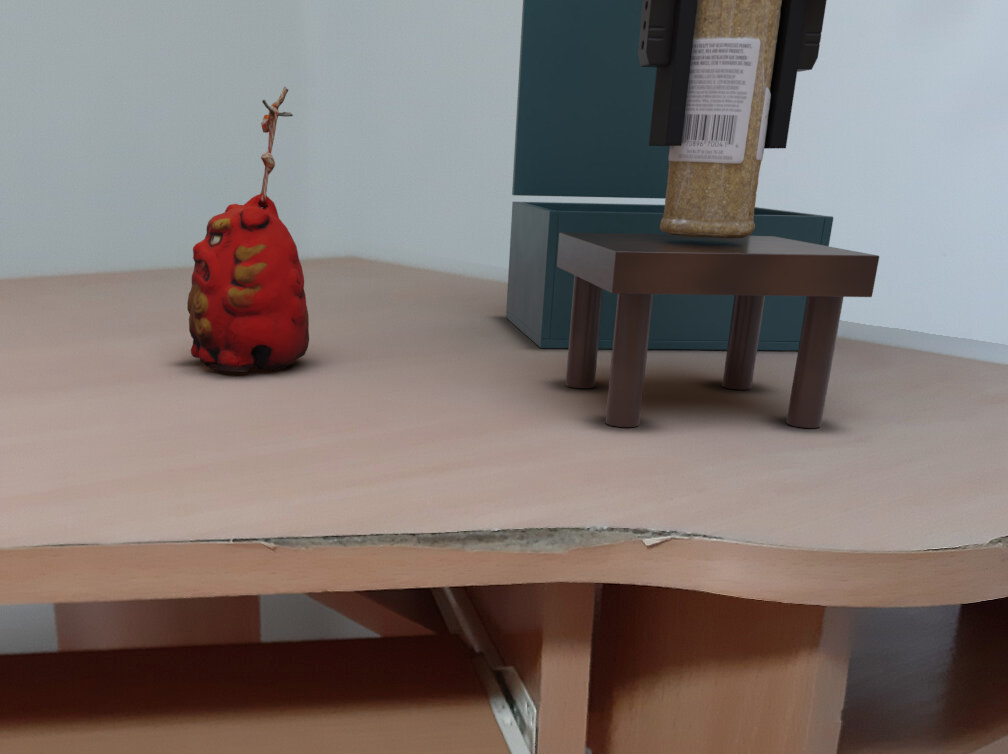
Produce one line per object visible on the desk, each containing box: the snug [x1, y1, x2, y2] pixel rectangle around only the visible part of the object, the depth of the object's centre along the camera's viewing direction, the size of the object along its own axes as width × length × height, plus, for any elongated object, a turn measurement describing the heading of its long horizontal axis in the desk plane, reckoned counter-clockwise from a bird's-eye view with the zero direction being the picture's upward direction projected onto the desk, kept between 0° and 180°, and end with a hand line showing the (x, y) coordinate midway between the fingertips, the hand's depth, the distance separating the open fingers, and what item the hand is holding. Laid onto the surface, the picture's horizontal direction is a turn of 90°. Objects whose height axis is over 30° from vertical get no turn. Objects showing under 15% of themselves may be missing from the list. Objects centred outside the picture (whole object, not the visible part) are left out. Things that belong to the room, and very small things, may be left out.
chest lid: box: [511, 0, 670, 200], centre depth 78 cm, size 15×19×1 cm
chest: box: [505, 201, 834, 352], centre depth 76 cm, size 14×19×9 cm
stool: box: [557, 232, 880, 429], centre depth 54 cm, size 12×12×8 cm
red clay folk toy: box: [186, 86, 310, 373], centre depth 60 cm, size 8×7×15 cm
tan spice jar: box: [660, 0, 782, 238], centre depth 50 cm, size 5×5×13 cm
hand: (716, 145), depth 51 cm, fingers closed on tan spice jar, 4 cm apart
